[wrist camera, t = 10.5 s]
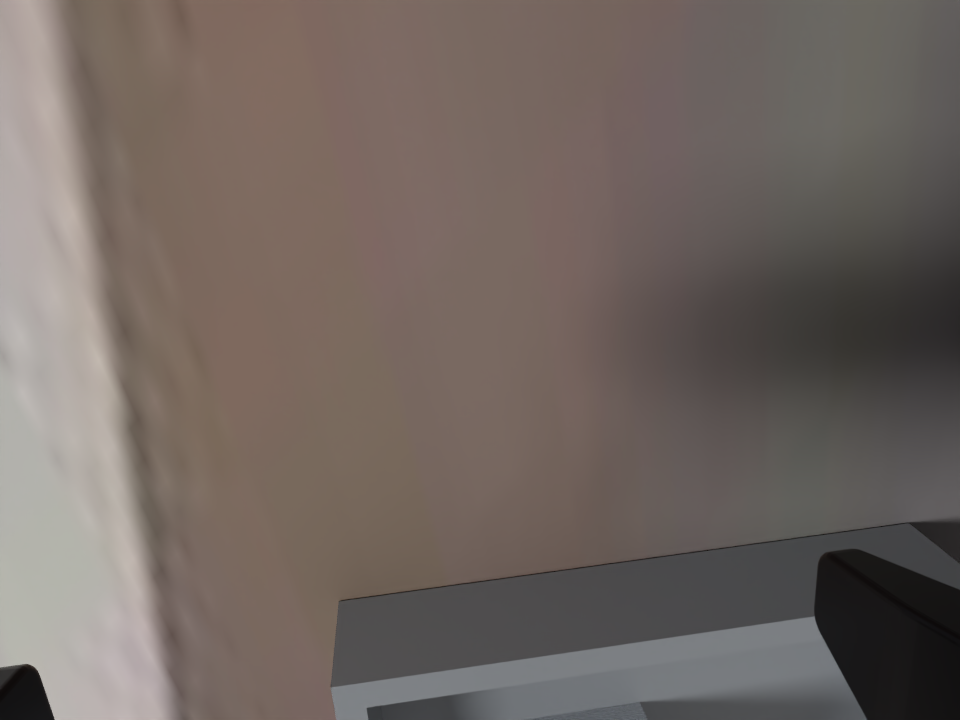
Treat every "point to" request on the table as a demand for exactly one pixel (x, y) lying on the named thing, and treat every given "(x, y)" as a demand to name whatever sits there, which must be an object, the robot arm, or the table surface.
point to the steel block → (603, 713)
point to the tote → (616, 638)
